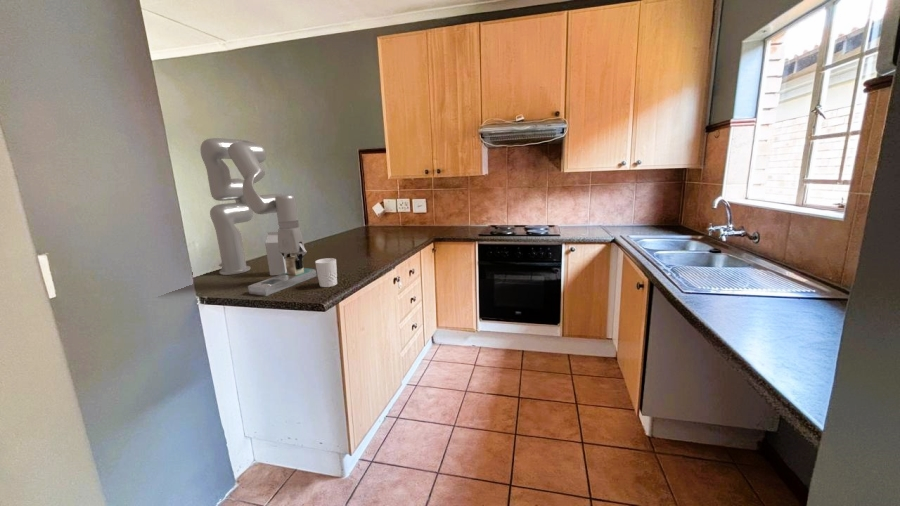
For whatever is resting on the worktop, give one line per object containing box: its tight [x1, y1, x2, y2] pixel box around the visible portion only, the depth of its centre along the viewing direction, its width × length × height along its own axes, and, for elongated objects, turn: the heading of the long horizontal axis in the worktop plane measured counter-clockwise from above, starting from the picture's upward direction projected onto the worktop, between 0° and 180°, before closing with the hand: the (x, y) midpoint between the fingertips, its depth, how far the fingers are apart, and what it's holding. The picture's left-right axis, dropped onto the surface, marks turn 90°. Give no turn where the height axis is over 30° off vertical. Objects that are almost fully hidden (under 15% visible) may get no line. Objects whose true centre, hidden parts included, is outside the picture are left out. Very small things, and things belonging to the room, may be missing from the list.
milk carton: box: [264, 231, 287, 276], centre depth 162 cm, size 7×7×19 cm
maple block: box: [285, 255, 305, 276], centre depth 151 cm, size 5×5×8 cm
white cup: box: [314, 257, 338, 288], centre depth 144 cm, size 8×8×10 cm
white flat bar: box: [247, 267, 318, 297], centre depth 147 cm, size 26×9×3 cm, turn 157°
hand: (295, 268), depth 152 cm, fingers closed on maple block, 4 cm apart
